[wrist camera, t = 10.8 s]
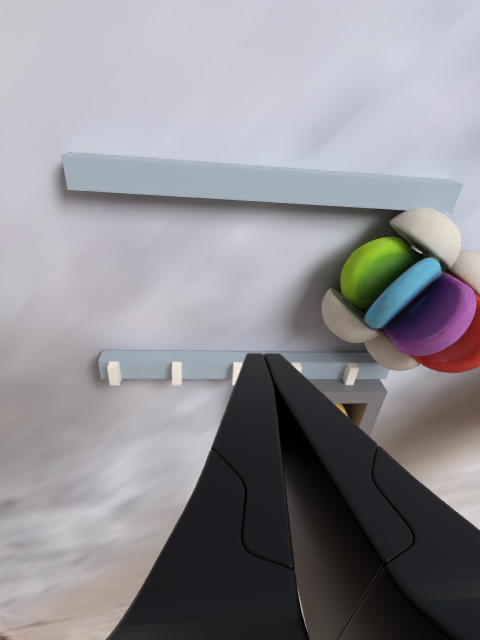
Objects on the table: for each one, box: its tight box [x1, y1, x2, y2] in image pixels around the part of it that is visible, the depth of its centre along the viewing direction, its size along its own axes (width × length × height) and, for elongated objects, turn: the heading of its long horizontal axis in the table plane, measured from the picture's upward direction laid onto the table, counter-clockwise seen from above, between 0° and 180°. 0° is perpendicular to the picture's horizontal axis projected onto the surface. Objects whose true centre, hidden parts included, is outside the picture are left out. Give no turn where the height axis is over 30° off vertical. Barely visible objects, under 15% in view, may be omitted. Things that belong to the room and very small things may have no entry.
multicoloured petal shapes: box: [321, 207, 480, 373], centre depth 19 cm, size 8×10×7 cm
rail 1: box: [61, 152, 463, 213], centre depth 18 cm, size 20×2×1 cm, turn 86°
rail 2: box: [98, 350, 390, 385], centre depth 24 cm, size 20×2×2 cm, turn 86°
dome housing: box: [308, 379, 387, 436], centre depth 27 cm, size 9×9×2 cm
